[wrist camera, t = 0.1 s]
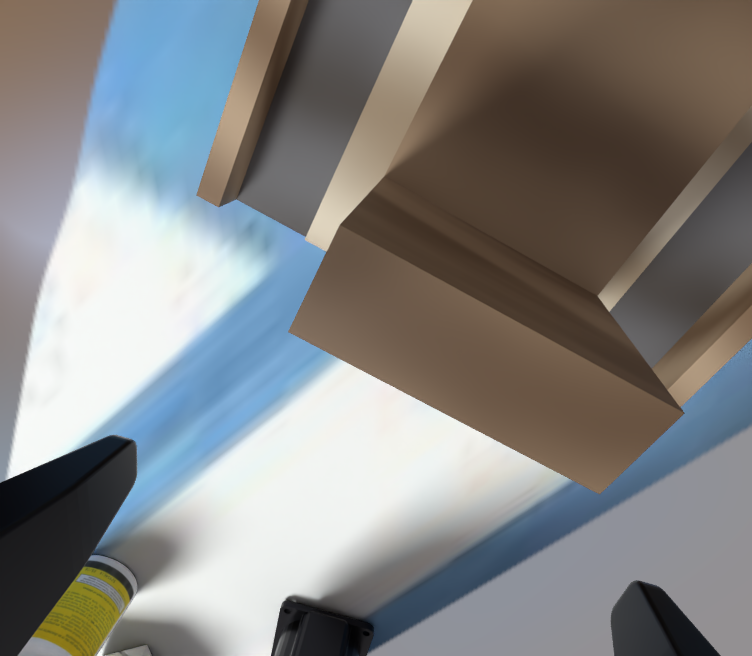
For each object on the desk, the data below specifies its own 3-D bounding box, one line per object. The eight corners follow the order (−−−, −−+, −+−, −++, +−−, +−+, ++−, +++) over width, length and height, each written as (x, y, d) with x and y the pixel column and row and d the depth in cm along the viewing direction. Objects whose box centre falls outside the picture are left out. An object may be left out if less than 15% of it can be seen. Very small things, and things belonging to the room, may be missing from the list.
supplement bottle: (83, 542, 33) (-24, 670, 26) (146, 570, 34) (58, 705, 26) (72, 581, 36) (-30, 709, 28) (131, 607, 36) (46, 741, 28)
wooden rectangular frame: (633, 412, 23) (653, 447, 21) (217, 187, 21) (188, 197, 19) (1310, -281, 12) (1515, -372, 10) (573, -858, 10) (608, -1134, 8)
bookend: (538, 330, 21) (599, 494, 12) (359, 232, 21) (288, 331, 12) (776, 21, 16) (1206, -86, 7) (541, -129, 15) (673, -469, 6)
